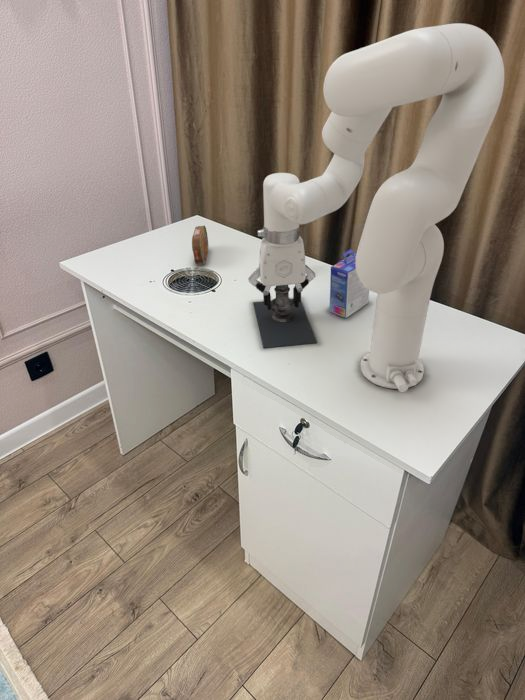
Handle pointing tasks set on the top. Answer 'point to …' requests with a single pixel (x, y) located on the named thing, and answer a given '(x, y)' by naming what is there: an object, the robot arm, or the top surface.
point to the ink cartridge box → (346, 287)
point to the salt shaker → (282, 304)
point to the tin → (200, 245)
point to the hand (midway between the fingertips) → (282, 305)
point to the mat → (283, 327)
